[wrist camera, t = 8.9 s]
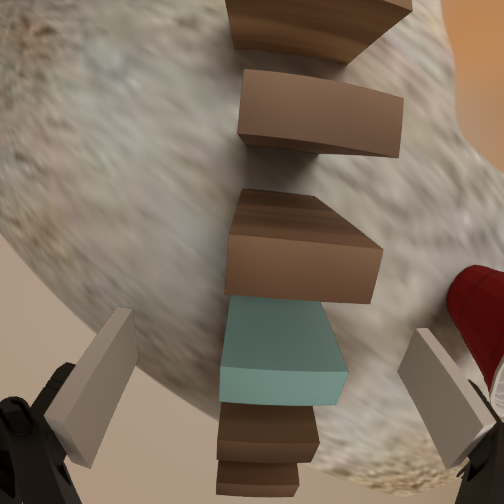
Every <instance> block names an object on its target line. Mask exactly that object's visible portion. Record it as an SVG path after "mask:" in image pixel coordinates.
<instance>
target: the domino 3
mask: <svg viewBox="0 0 504 504" xmlns="http://www.w3.org/2000/svg"><path fill="white" fill-rule="evenodd" d="M348 372H349V371H348V368H347V366H346V363H345V361H344V358H343V356H342V353H341V351H340V348H339V346H338V343H337V341H336V338H335V336H334V333H333V331H332V328H331V326H330V323H329V321H328V318H327V316H326V314H325V311H324V309H323V306H322V304H321V302H319V301H303V300H289V299H275V298H262V297H250V296H239V295H231V297H230V304H229V311H228V317H227V324H226V331H225V338H224V345H223V352H222V359H221V366H220V387H219V401H221V402H231V403H244V404H260V405H287V406H323V405H336V404H337V401H338V399H339V396H340V394H341V391H342V389H343V386H344V383H345V380H346V378H347V375H348Z"/></svg>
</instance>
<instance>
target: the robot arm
mask: <svg viewBox="0 0 504 504" xmlns="http://www.w3.org/2000/svg"><path fill="white" fill-rule="evenodd" d="M138 358H139V355H138V348H137V341H136V334H135V326H134V317H133V310H132V309H125V308H119V307H117V308H116V309H115V311H114V312H113V313H112V315H111V316H110V318H109V319H108V320H107V322H106V323H105V324H104V326H103V327H102V329H101V330H100V331H99V333H98V334H97V336H96V337H95V338H94V340H93V341H92V343H91V344H90V346H89V347H88V348H87V350H86V351H85V353H84V354H83V356H82V357H81V359H80V360H79V362H78V363H77V364H76V365H75V364H72V363H68V362H66V363H65V364H63V365H62V366H60V367H59V368H57V369H56V371H55V372H54V374H53V375H52V377H51V379H50V380H49V381H48V382H47V384H46V386H45V387H44V388H43V389H42V391H41V392H40V394H39V395H38V397H37V398H36V400H35V401H34V403H33V404H32V406H31V407H29V405H28V403H27V402H26V401H25V400H24V399H23V398H20V397H17V396H16V397H8V398H5V399H3V400H2V401H1V402H0V504H22V502H23V504H82V503H81V500H80V498H79V496H78V494H77V492H76V489H75V487H74V485H73V483H72V480H71V478H70V475H69V473H68V470H67V467H66V465H65V463H64V462H63V461H64V459H65V457H66V455H68V457H69V458H70V460H71V461H72V462H73V463H75V464H78V465H81V466H84V467H87V468H89V469H91V466H92V464H93V461H94V459H95V456H96V454H97V451H98V449H99V446H100V444H101V442H102V439H103V437H104V435H105V432H106V429H107V427H108V425H109V423H110V420H111V418H112V416H113V413H114V411H115V409H116V407H117V404H118V402H119V400H120V398H121V395H122V393H123V391H124V389H125V386H126V384H127V382H128V380H129V378H130V376H131V373H132V371H133V369H134V367H135V365H136V363H137V361H138ZM398 373H399V375H400V377H401V379H402V381H403V383H404V384H405V386H406V388H407V390H408V392H409V394H410V396H411V398H412V400H413V402H414V403H415V405H416V407H417V409H418V411H419V413H420V415H421V417H422V419H423V421H424V423H425V425H426V427H427V429H428V431H429V433H430V435H431V437H432V440H433V442H434V444H435V446H436V448H437V450H438V452H439V454H440V457H441V459H442V461H443V463H444V465H445V468H446V470H447V469H449V468H452V467H455V466H458V465H460V464H461V463H462V462H463V461H464V460H465V459H466V458H467V456H468V458H469V460H470V461H469V462H468V463H467V464H466V465H465V466H464V467H463V468H462V469H461V470H460V471H459V472H458V474H457V476H456V477H459V476H460V475H461V474H462V473H463V472H464V475H463V476H462V477H461V478H462V482H461V486H460V489H459V492H458V495H457V498H456V502H455V504H504V423H503V422H502V421H501V419H500V418H499V416H498V415H497V413H496V412H495V410H494V409H493V407H492V406H491V405H490V403H489V402H488V401H487V399H486V397H485V396H484V395H482V394H483V393H482V392H481V390H480V389H479V388H478V386H477V385H476V384H474V383H473V382H472V381H471V380H467V379H466V377H465V376H464V374H463V373H462V372H461V370H460V369H459V368H458V366H457V365H456V364H455V362H454V361H453V360H452V358H451V357H450V356H449V354H448V353H447V352H446V351H445V349H444V348H443V347H442V345H441V344H440V343H439V342H438V340H437V339H436V338H435V337H434V335H433V334H432V333H431V332H430V330H429V329H428V328H416V329H415V331H414V334H413V336H412V339H411V341H410V344H409V346H408V348H407V351H406V353H405V356H404V358H403V360H402V362H401V365H400V367H399V369H398Z"/></svg>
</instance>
